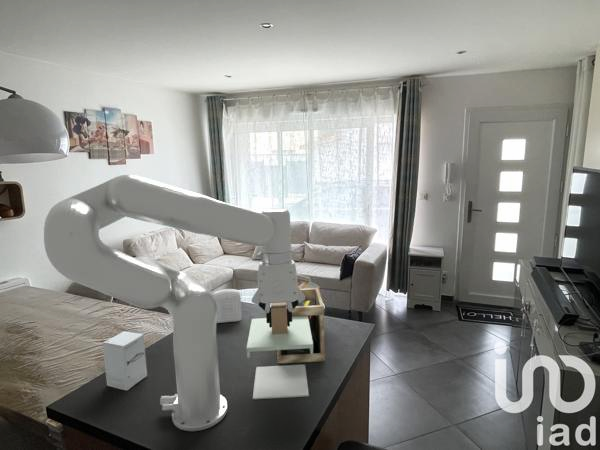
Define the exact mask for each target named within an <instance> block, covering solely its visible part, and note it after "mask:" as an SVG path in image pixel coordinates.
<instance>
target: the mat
mask: <svg viewBox="0 0 600 450" xmlns="http://www.w3.org/2000/svg"><path fill="white" fill-rule="evenodd" d="M307 378H308V377H307V369H306V364H290V365H287V364H286V365H272V366H271V365H269V366H256V369H255V375H254V384H253V393H252V400H262V399H263V400H264V399H282V398H285V399H286V398H297V397H299V398H300V397H301V398H302V397H309V396H310V394H309V386H308V379H307Z"/></svg>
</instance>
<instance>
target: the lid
mask: <svg viewBox="0 0 600 450" xmlns="http://www.w3.org/2000/svg"><path fill="white" fill-rule="evenodd" d="M270 307H271V320H272V327H271V328H269V323H267V319H266V317H263V318H262V317H261V318H251V323H250V328H249V334H248V339H247V344H246V357H247V358H250V357H251V352H266V351H277V350H281V351H282V350H287V349H305V348H310V353H311V354H314V351H313V341H312V336H311V330H310V325H309V319H308V316H295V317H292V322H290V327H288V326H287V304H286V302H281V303H271V304H270Z"/></svg>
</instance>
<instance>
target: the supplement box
mask: <svg viewBox="0 0 600 450" xmlns="http://www.w3.org/2000/svg"><path fill="white" fill-rule="evenodd" d="M101 344H102V351H103V360H104V368H105V369H104V370H105V378H106V386H108V387H111V388H114V389H119V390H121V391H122V390H123V391H129V390H130V389H131V388H133V387H134V386H135V385H136V384H138V383H139V382H140V381H142V380H144V379H145V378H146V377H147V376H148V370H147V368H148V367H147V357H146V349H145V338H144V334H143V333H137V332H130V331H122V332H120V333H118V334H117V335H115V336H112V337H111V338H108V339H107V340H105V341H104V342H102V343H101Z"/></svg>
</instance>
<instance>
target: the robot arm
mask: <svg viewBox="0 0 600 450" xmlns="http://www.w3.org/2000/svg"><path fill="white" fill-rule="evenodd" d="M124 218H130V219H133V220H139V221H142V222H147V223H151V224H156V225H161V226H164V227H169V228H173V229H177V230H182V231H185V232H189V233H192V234H199V235H205V236H210V237H213V238H219V239H222V240H227V241H230V242H235V243H239V244H244V245H247V246H252V247H261V251H260V252H259V253H256V254H255V257H256V258H255V259H259V260H260V261H261V262H259V264H258V268H257V269H258V271H257V290H256V291H255V293H254V294H253V296H252V298H251V302H252V303H253V304H255V305H257V306H258V307H259V308H261V309H262V310H263V311H264V312H265V314H266V315H265V318H266V319H267V323H269V328H271V327H272V320H271V303H281V302H287V326H288V327H290V322H292V311H293V309H294V308H295V307H296V306H297V305H298V304H299V303H301V302H302V301H303V300H305V295H304V294H303V293H302V291H301V290H300V289H299V287H298V281H297V275H298V273H297V272H298V271H297V267H296V263H295V261H294V259H292V258H293V257H292V233H291V229H292V228H291V213H290V211H289V210H288V209H286V208H281V207H280V208H279V207H272V208H271V207H270V208H265V209H262V210H258V209H257V210H254V209H253V210H252V209H248V208H244V207H242V206H238V205H234V204H230V203H227V202H224V201H220V200H218V199H215V198H212V197H210V196H207V195H204V194H201V193H197V192H194V191H191V190H187V189H184V188H181V187H177V186H173V185H170V184H167V183H163V182H160V181H156V180H153V179H149V178H146V177H142V176H139V175H135V174H122V175H117V176H115V177H113V178H111V179H108V180H106V181H105V182H103V183H100V184H98V185H95V186H94V187H93V186H92V187H91V188H88V189H86V190H84V191H82V192H80V193H78V194H75V195H71V196H70V197H68V198H65V199H63V200H60V201H59V202H57V203H56V204H54V205H53V206H52V207H51V208H50V210H49V212H48V213H47V214H46V217H45V221H44V226H43V242H44V251H45V253H46V256H47V259H48V260H49V262H50V263H51V265H52V267H53V268H54V269H55V270H56V271H57V272H58V273H59V274H61V276H64V277H65V278H66V279H68V280H70V281H71V282H74V283H77V284H78V285H81V286H83V287H87V288H89V289H90V290H91V289H92V290H95V291H97V292H99V293H102V294H103V295H106V296H109V297H112V298H114V299H116V300H120V301H122V302H125V303H127V304H129V305H132V306H134V307H137V308H141V309H147V310H149V309H154V308H159V307H161V308H164V309H165V310H167V311H168V313H169V315H170V316H171V319H172V327H173V329H172V330H173V331H172V348H173V349H172V351H173V357H174V358H173V359H174V369H175V381H176V392H177V393H175V394H174V395H161V396H160V399H159V402H160V403H159V405H160V406H162V407H161V409H162V411H172V413H171V418H172V419H171V420H172V423H173V425H174V426H175V427H176V428H177V429H179V430H181V431H182V430H183V431H186V432H197V431H203V430H206V429H210V428H212V427H213V426H215V425H217V424H218V423H219V422H221V421H222V420H223V419H224V418H225V416H226V414H227V413H228V401H227V399H226V397H224V396H223V395H222V394H221V389H220V375H219V374H220V372H219V357H218V346H217V345H218V343H217V324H218V323H217V303H216V300H215V297H214V293H213V292H212V291H211V290H210V289H209V288H208V287H206V285H205V284H203V283H201V282H200V281H199V280H197V279H196V278H195V277H193V276H191V275H190V274H189V273H185V272H183V271H181V270H179V269H176V268H174V267H172V266H170V265H168V264H166V263H163V262H161V261H159V260H156V259H154V258H152V257H148V256H141V255H140V256H139V255H138V256H135V257H133V256H131V255H128V254H127V253H125V252H122V251H120V250H119V249H116V248H114V247H110V246H108V245H106V244H105V243H104V242H103V241H102V240H101V238H100V233H99V232H100V230H101V229H103V228H106V227H108V226H110V225H112V224H114V223H116V222H118V221H120V220H121V219H124Z"/></svg>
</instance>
